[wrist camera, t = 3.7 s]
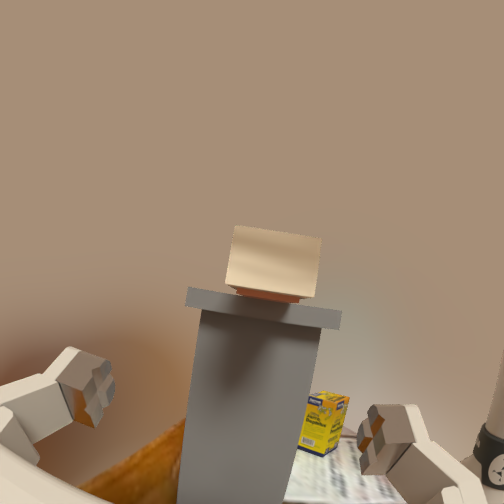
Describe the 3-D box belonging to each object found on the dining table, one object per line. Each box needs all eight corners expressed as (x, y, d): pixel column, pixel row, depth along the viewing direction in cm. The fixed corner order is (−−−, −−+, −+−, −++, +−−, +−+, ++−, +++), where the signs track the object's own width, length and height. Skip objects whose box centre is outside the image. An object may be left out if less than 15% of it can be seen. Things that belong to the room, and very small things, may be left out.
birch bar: (312, 304, 14) (322, 238, 14) (223, 290, 14) (235, 224, 14) (279, 303, 39) (282, 280, 40) (247, 298, 40) (251, 275, 40)
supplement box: (323, 458, 44) (337, 403, 46) (294, 447, 48) (306, 394, 50) (337, 448, 49) (350, 396, 51) (310, 439, 53) (322, 389, 54)
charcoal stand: (279, 554, 19) (342, 310, 23) (160, 535, 20) (188, 286, 24) (274, 476, 37) (307, 307, 41) (193, 463, 38) (218, 293, 42)
